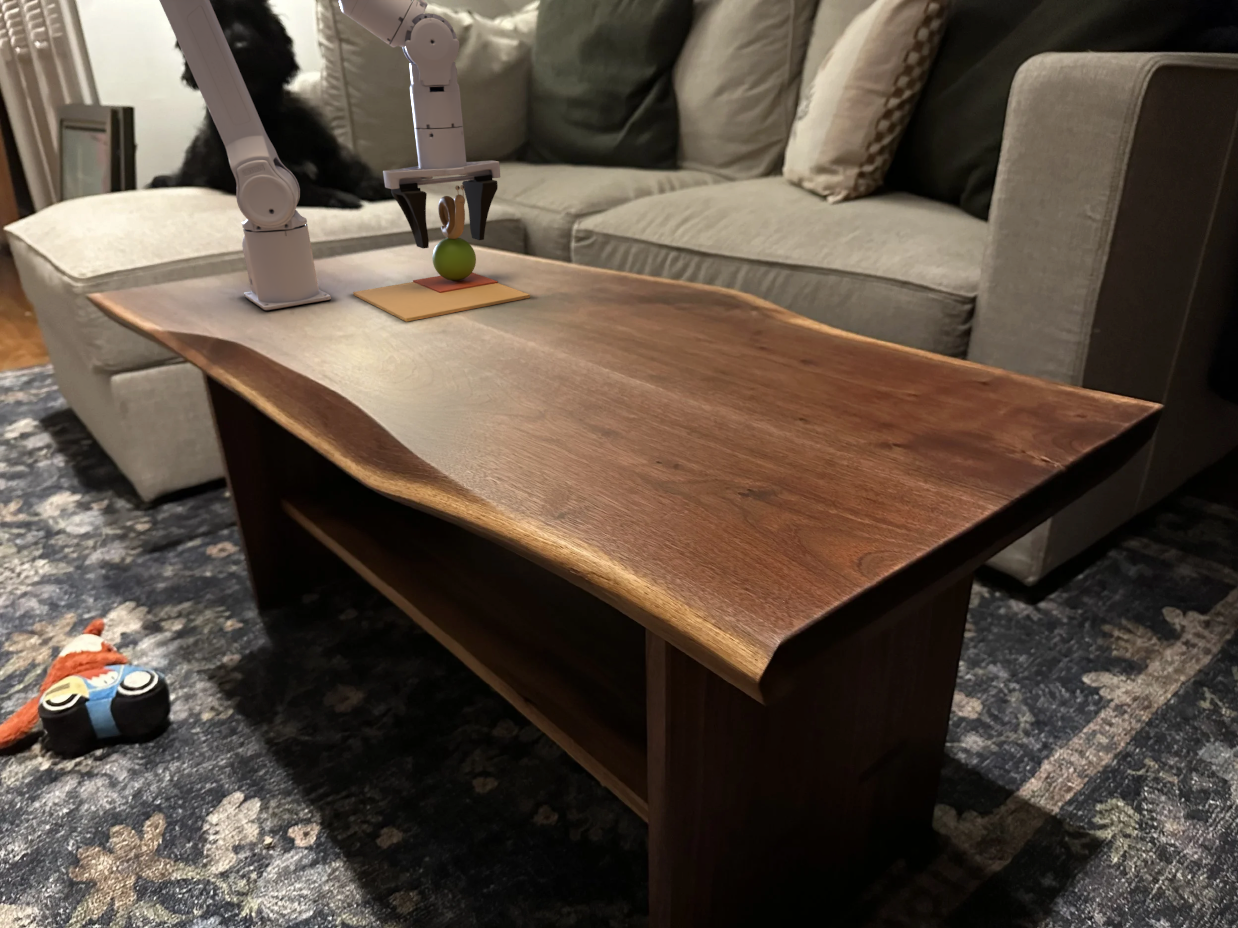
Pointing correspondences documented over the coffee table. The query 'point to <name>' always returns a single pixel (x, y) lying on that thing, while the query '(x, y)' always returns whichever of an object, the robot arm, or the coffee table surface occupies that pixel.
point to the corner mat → (439, 296)
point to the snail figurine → (453, 241)
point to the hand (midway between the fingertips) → (450, 243)
